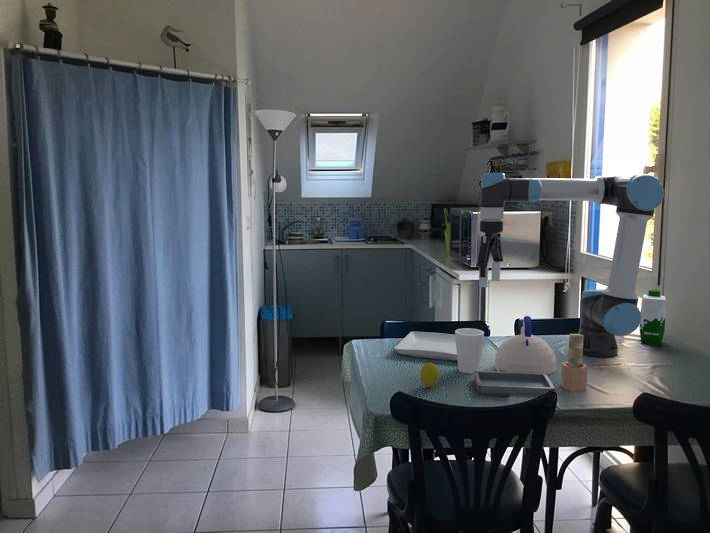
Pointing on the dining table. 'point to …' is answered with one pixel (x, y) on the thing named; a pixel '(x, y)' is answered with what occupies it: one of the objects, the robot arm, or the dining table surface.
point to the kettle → (525, 353)
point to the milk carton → (652, 318)
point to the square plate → (429, 345)
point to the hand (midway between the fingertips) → (489, 283)
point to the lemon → (429, 374)
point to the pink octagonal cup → (574, 377)
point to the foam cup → (468, 349)
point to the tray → (511, 383)
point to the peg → (575, 350)
